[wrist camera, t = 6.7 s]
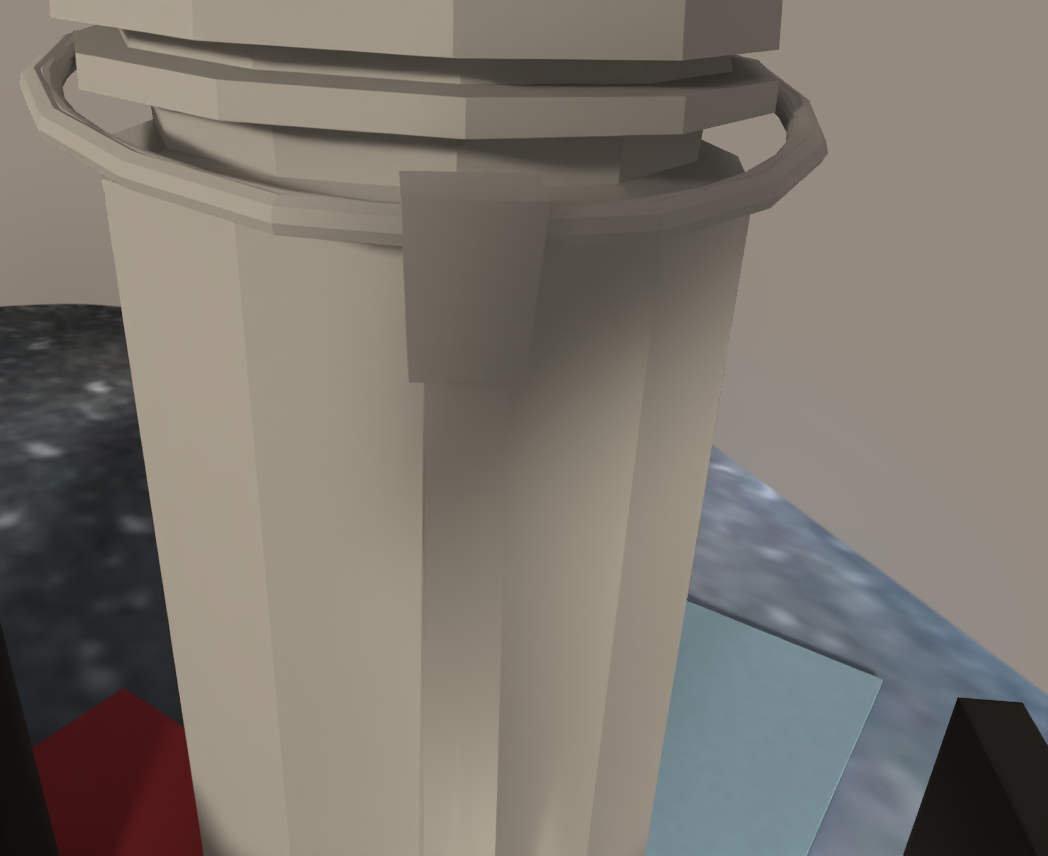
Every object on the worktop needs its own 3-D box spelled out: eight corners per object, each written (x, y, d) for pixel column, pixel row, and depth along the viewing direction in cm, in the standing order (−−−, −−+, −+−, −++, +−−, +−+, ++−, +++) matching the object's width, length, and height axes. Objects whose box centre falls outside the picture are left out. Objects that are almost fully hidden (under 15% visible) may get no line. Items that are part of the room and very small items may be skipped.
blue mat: (881, 685, 32) (883, 679, 32) (728, 1034, 21) (730, 1026, 21) (456, 513, 40) (456, 507, 40) (192, 702, 30) (191, 695, 30)
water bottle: (247, 963, 22) (66, -433, 11) (576, 929, 23) (733, -358, 12) (178, 1559, 14) (-905, -1625, 2) (688, 1458, 15) (1529, -996, 4)
